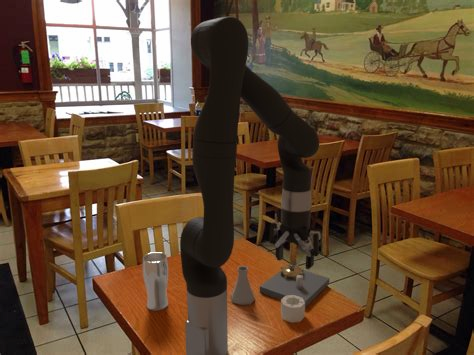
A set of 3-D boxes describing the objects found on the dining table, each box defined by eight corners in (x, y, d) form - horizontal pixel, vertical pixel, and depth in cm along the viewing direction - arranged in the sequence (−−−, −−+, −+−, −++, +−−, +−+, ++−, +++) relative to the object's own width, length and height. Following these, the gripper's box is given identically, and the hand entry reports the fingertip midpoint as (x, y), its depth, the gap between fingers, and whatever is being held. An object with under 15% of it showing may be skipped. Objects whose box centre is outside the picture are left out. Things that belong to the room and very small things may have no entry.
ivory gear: (297, 324, 108) (297, 309, 107) (277, 317, 112) (277, 302, 110) (307, 314, 113) (308, 299, 112) (288, 307, 116) (288, 293, 115)
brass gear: (296, 282, 126) (296, 273, 125) (275, 275, 130) (275, 266, 130) (307, 272, 132) (307, 264, 131) (287, 266, 136) (287, 258, 135)
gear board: (304, 308, 116) (304, 291, 114) (259, 292, 124) (259, 275, 123) (329, 283, 129) (330, 268, 127) (287, 270, 137) (287, 255, 136)
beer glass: (145, 313, 114) (142, 264, 110) (144, 300, 120) (141, 253, 116) (171, 309, 115) (168, 260, 112) (168, 296, 122) (166, 250, 118)
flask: (252, 307, 116) (253, 275, 114) (228, 304, 118) (227, 272, 115) (256, 293, 123) (257, 263, 121) (233, 291, 125) (233, 261, 122)
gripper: (264, 204, 105) (263, 261, 109) (315, 215, 97) (312, 277, 101) (279, 197, 111) (278, 252, 115) (328, 206, 103) (325, 265, 107)
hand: (294, 263), depth 108 cm, fingers open, 8 cm apart
